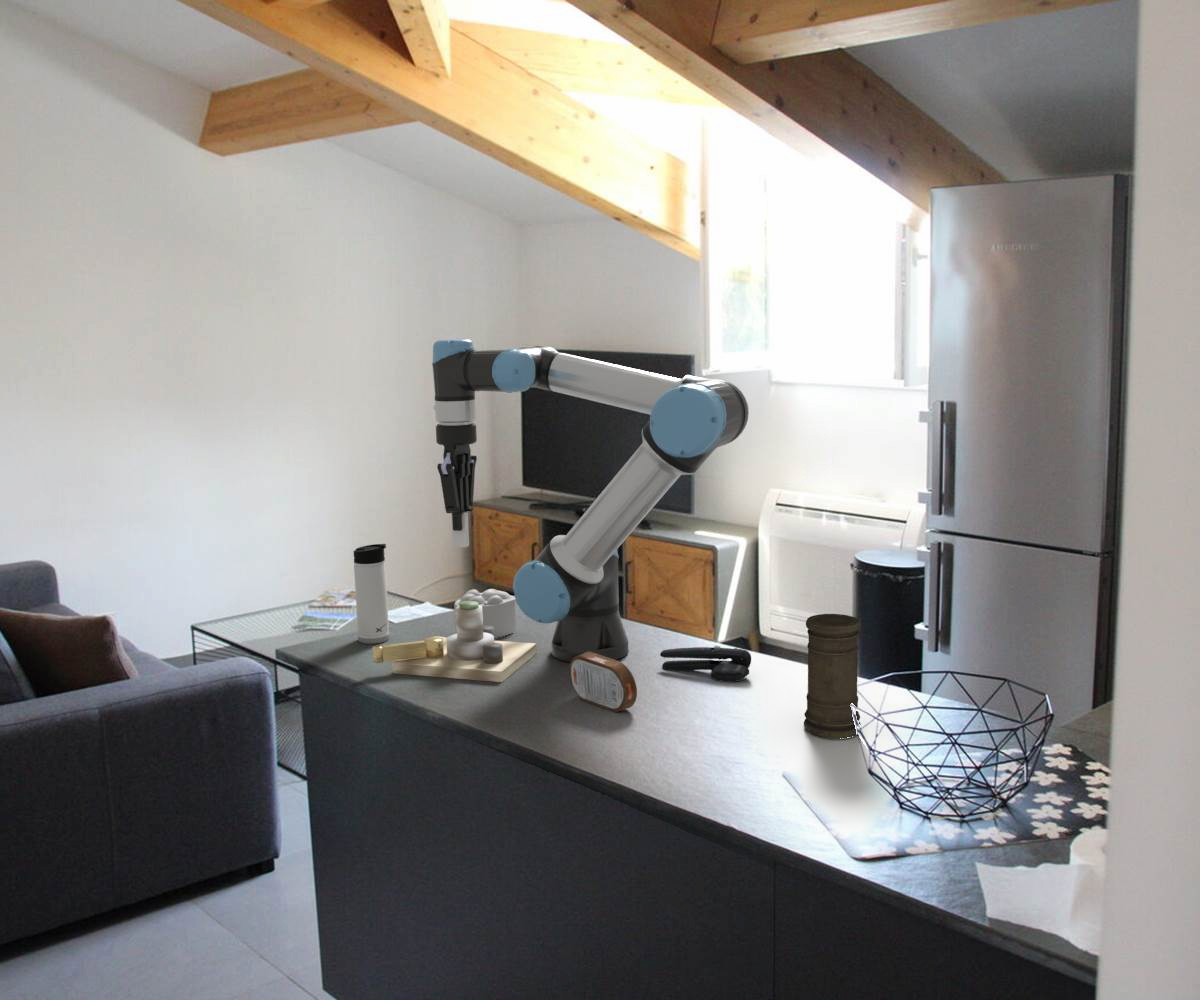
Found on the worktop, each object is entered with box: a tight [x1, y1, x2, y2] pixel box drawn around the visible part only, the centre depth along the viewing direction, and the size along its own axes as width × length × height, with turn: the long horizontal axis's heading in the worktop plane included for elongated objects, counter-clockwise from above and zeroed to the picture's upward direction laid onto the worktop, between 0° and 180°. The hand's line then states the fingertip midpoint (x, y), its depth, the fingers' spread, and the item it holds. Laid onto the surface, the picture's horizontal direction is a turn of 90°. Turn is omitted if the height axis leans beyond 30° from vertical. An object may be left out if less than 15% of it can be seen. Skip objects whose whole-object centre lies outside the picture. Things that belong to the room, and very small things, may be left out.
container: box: [803, 613, 862, 740], centre depth 183 cm, size 9×9×18 cm
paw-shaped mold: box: [453, 588, 518, 639], centre depth 242 cm, size 10×13×9 cm
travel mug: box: [353, 543, 390, 645], centre depth 238 cm, size 6×7×20 cm
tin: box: [569, 652, 638, 713], centre depth 198 cm, size 15×3×8 cm, turn 41°
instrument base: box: [391, 601, 538, 683], centre depth 222 cm, size 22×18×12 cm
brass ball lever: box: [372, 636, 444, 664], centre depth 219 cm, size 13×4×3 cm, turn 110°
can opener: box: [659, 645, 752, 683], centre depth 213 cm, size 18×7×6 cm, turn 62°
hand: (461, 546), depth 221 cm, fingers closed
